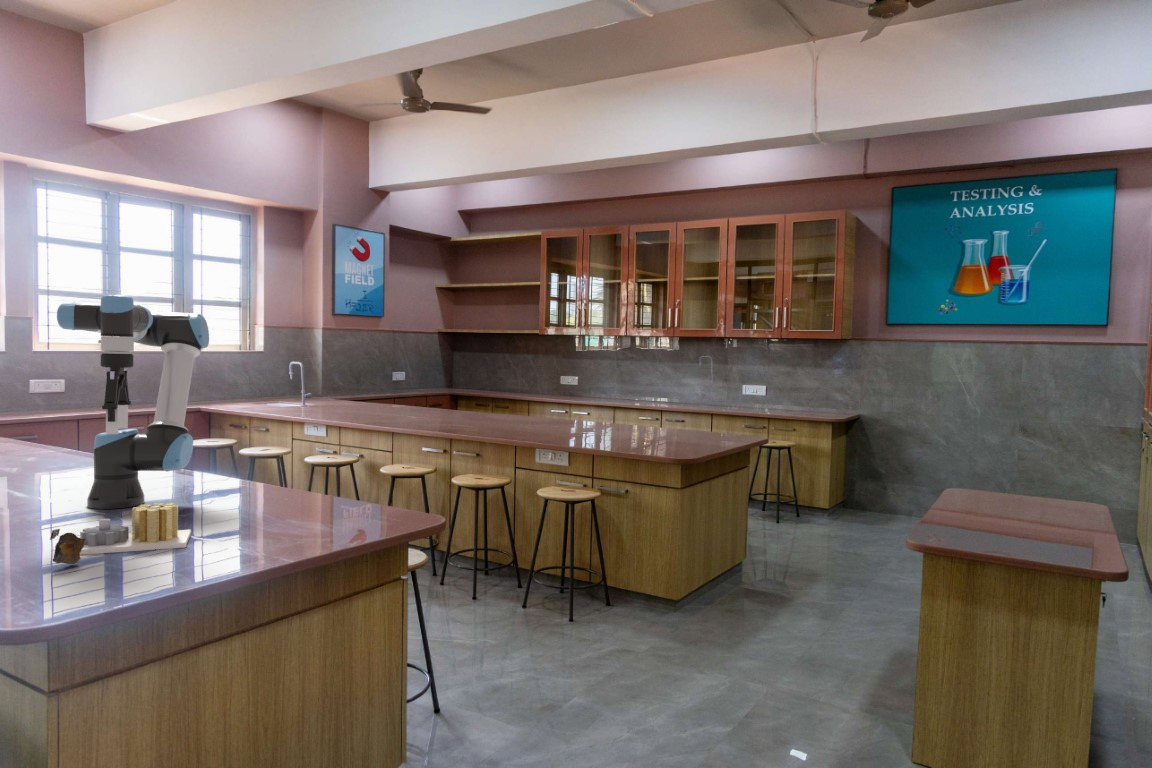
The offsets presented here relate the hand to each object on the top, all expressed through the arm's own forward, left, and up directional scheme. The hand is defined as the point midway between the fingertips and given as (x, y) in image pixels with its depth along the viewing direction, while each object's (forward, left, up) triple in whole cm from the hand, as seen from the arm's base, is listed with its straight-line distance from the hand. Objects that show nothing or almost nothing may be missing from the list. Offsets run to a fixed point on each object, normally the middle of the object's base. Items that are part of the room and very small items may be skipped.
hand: (117, 431), depth 197 cm
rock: (+37, -4, -27) cm, 46 cm away
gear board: (+19, +6, -27) cm, 33 cm away
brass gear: (+18, +11, -26) cm, 33 cm away
